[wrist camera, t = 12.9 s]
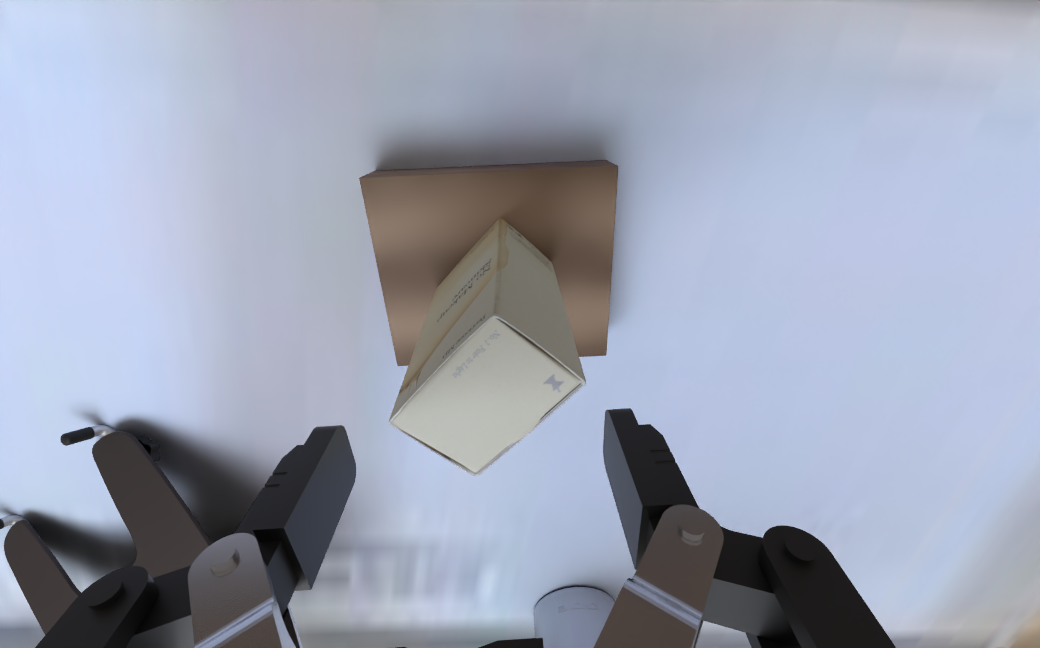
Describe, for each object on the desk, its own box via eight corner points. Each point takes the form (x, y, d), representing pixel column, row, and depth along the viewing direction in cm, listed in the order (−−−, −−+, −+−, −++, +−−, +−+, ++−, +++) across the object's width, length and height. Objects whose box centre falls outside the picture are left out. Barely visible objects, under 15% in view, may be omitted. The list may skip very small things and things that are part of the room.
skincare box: (500, 214, 24) (496, 302, 13) (555, 264, 25) (594, 381, 14) (432, 291, 26) (379, 423, 15) (487, 333, 27) (476, 482, 16)
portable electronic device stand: (209, 379, 39) (84, 409, 30) (347, 592, 37) (258, 689, 28) (84, 496, 45) (-50, 549, 36) (199, 683, 43) (88, 786, 34)
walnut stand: (597, 334, 31) (606, 355, 28) (406, 343, 31) (397, 366, 28) (606, 160, 25) (618, 166, 23) (374, 170, 25) (359, 177, 23)
